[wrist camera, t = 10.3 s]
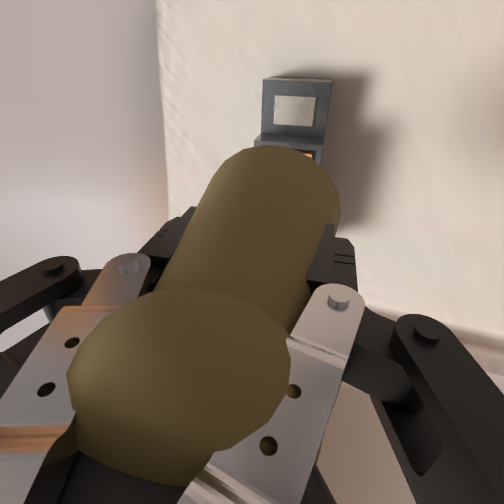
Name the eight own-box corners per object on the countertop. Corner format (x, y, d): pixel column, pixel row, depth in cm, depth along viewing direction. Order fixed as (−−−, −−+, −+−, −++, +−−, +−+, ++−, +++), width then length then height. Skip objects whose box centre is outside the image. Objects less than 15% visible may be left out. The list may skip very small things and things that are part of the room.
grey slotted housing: (270, 77, 25) (255, 81, 21) (332, 79, 24) (331, 84, 20) (262, 227, 33) (251, 255, 28) (310, 234, 32) (306, 263, 27)
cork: (181, 200, 15) (-66, 444, 6) (280, 110, 11) (81, 336, 3) (263, 285, 16) (174, 576, 7) (368, 228, 13) (434, 607, 4)
